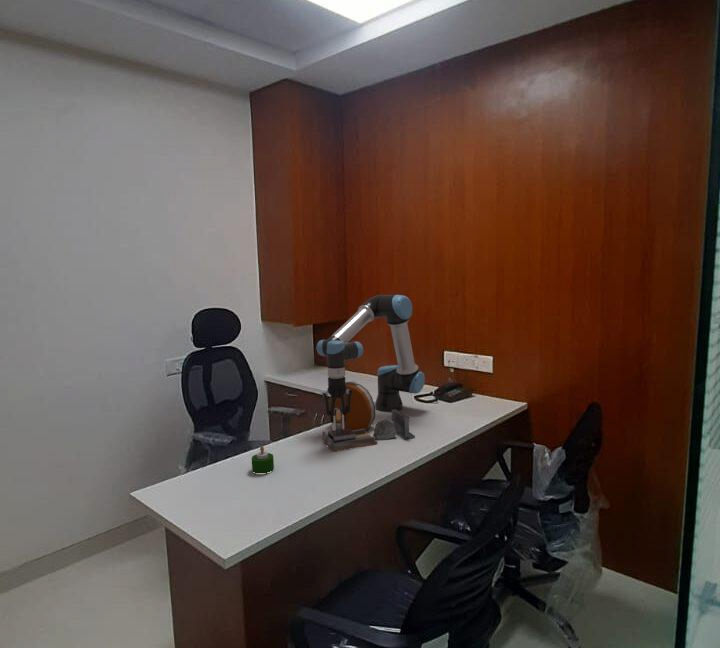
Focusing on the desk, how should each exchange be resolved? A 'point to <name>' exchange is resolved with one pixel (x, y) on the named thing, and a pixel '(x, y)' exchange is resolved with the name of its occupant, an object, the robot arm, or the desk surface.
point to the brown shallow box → (350, 441)
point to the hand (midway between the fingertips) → (338, 428)
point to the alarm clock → (357, 407)
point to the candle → (262, 462)
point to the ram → (340, 433)
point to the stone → (384, 429)
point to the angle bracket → (401, 424)
